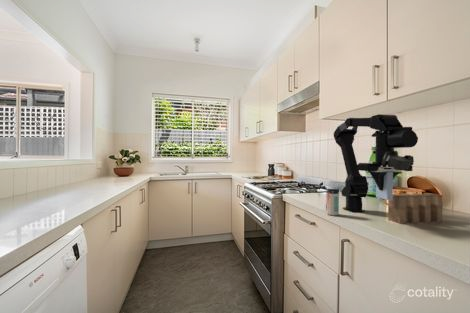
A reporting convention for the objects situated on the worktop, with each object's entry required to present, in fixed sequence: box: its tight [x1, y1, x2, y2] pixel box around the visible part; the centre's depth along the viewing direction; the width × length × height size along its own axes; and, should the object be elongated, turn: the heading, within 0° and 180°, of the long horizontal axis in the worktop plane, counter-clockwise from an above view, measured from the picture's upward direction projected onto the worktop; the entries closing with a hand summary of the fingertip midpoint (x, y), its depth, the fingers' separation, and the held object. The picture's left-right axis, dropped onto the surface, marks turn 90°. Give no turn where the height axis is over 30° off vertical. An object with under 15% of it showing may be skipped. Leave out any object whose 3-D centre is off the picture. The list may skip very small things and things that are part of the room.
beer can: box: [325, 184, 340, 217], centre depth 89 cm, size 5×5×12 cm
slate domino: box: [375, 170, 394, 201], centre depth 80 cm, size 5×2×10 cm, turn 10°
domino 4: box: [423, 192, 444, 223], centre depth 83 cm, size 5×2×10 cm, turn 10°
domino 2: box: [400, 193, 419, 224], centre depth 81 cm, size 5×2×10 cm, turn 10°
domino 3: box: [411, 192, 431, 223], centre depth 82 cm, size 5×2×10 cm, turn 10°
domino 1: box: [387, 193, 406, 225], centre depth 81 cm, size 5×2×10 cm, turn 10°
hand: (384, 190), depth 80 cm, fingers closed on slate domino, 2 cm apart
